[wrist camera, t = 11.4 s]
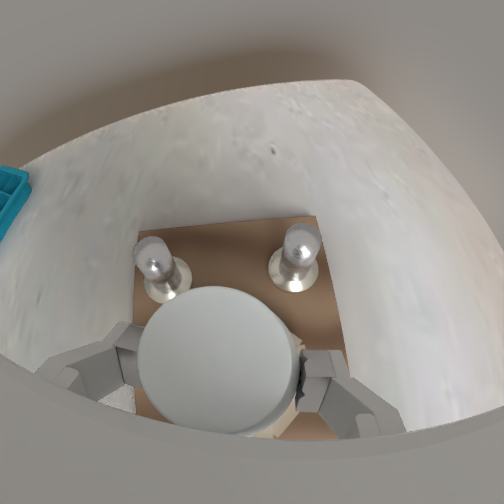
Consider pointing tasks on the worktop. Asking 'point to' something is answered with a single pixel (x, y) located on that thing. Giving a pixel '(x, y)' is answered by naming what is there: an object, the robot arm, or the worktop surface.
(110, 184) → the worktop surface
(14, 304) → the worktop surface
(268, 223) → the board
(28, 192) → the ice cube tray
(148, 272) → the steel pins
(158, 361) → the pill bottle
